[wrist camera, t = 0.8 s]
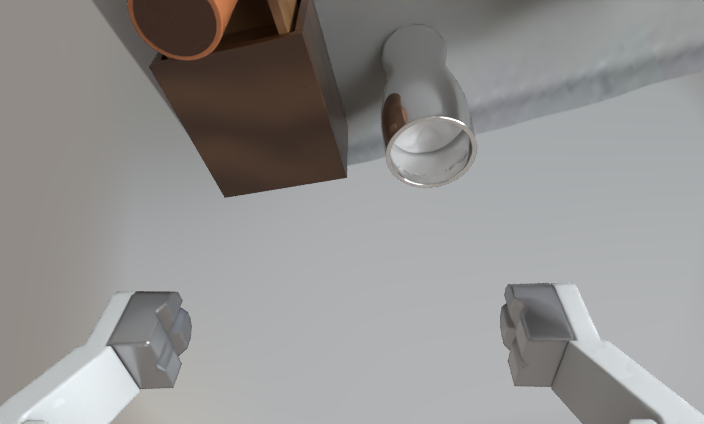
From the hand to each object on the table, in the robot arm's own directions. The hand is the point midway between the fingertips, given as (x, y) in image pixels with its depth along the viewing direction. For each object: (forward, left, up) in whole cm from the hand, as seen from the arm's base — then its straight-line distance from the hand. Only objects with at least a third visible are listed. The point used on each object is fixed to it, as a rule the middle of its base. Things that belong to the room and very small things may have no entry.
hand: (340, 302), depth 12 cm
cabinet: (+15, -5, -35) cm, 38 cm away
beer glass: (+10, +8, -35) cm, 37 cm away
